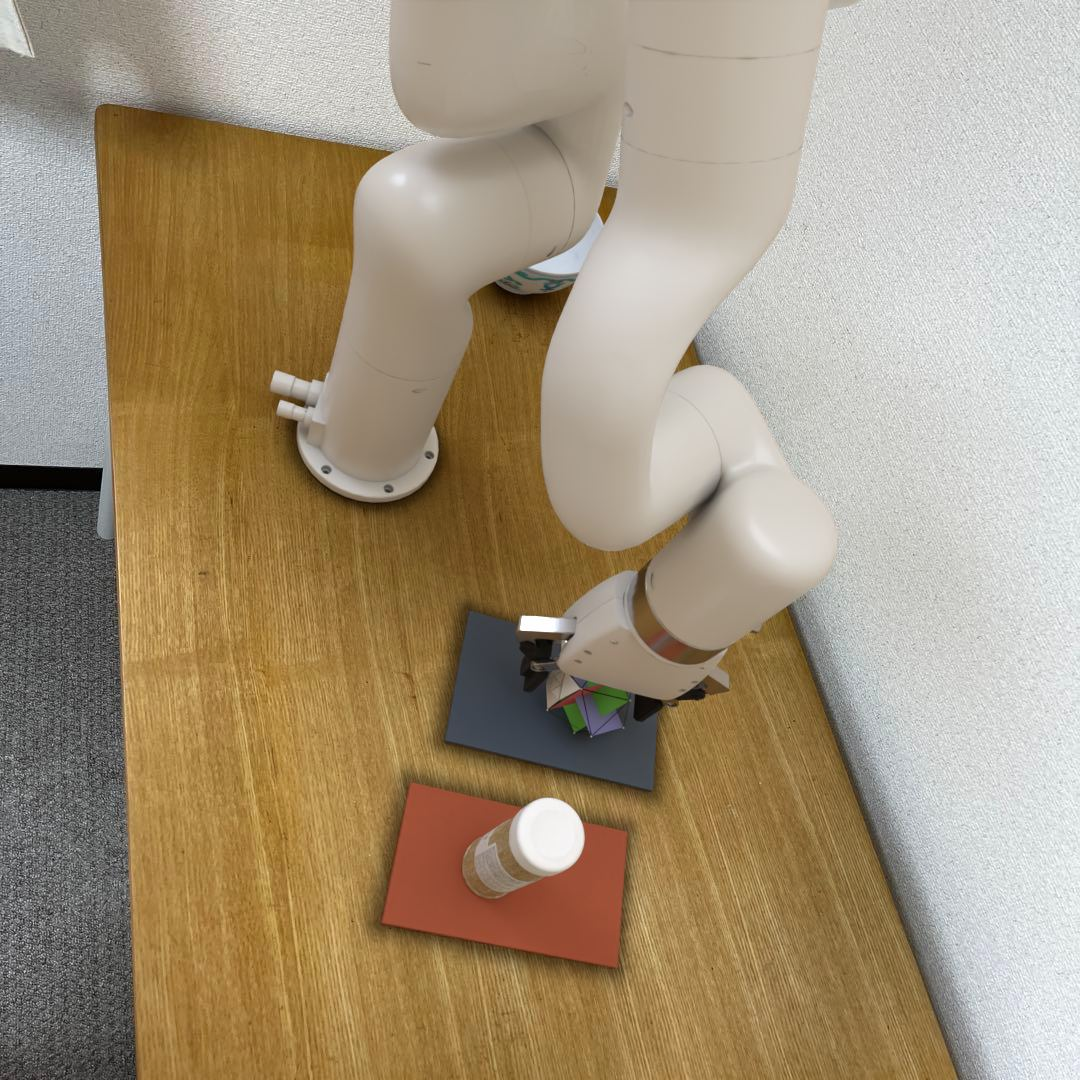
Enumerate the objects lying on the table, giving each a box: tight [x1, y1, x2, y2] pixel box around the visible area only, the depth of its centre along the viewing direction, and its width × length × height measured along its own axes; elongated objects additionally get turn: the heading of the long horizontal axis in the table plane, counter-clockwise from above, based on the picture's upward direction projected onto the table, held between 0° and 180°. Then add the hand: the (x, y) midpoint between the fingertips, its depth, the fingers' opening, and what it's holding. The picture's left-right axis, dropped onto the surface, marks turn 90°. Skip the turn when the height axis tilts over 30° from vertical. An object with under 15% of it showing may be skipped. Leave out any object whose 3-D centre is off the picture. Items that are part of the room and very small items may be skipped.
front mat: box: [380, 782, 628, 969], centre depth 67 cm, size 18×10×1 cm, turn 82°
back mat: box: [443, 610, 659, 793], centre depth 75 cm, size 18×12×1 cm, turn 82°
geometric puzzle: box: [546, 670, 631, 737], centre depth 73 cm, size 7×7×8 cm
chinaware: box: [494, 211, 604, 295], centre depth 95 cm, size 15×15×8 cm
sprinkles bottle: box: [462, 797, 585, 899], centre depth 61 cm, size 5×5×14 cm
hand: (584, 689), depth 73 cm, fingers open, 9 cm apart
